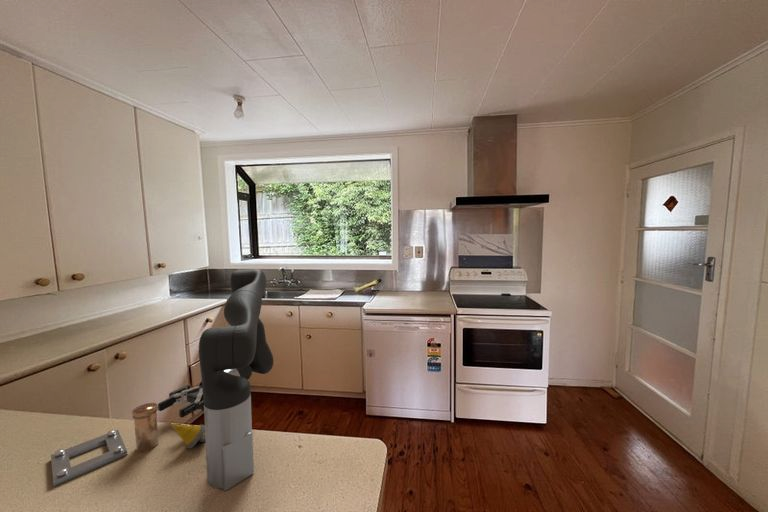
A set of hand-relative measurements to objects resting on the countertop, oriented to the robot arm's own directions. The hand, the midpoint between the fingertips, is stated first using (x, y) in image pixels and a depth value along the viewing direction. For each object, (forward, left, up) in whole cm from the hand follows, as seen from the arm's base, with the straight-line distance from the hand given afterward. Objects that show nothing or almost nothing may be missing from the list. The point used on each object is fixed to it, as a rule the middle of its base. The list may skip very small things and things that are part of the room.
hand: (169, 410), depth 80 cm
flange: (+4, +15, -6) cm, 17 cm away
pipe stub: (-2, +5, -6) cm, 8 cm away
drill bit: (-11, -2, -6) cm, 13 cm away
